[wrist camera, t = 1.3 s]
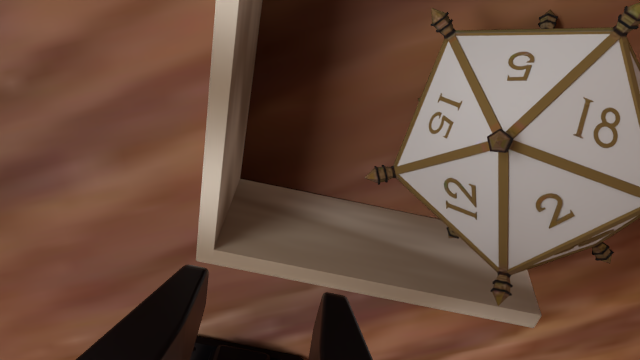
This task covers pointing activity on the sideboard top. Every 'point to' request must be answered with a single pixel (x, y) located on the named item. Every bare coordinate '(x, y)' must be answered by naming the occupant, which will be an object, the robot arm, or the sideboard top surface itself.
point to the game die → (527, 141)
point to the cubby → (325, 214)
